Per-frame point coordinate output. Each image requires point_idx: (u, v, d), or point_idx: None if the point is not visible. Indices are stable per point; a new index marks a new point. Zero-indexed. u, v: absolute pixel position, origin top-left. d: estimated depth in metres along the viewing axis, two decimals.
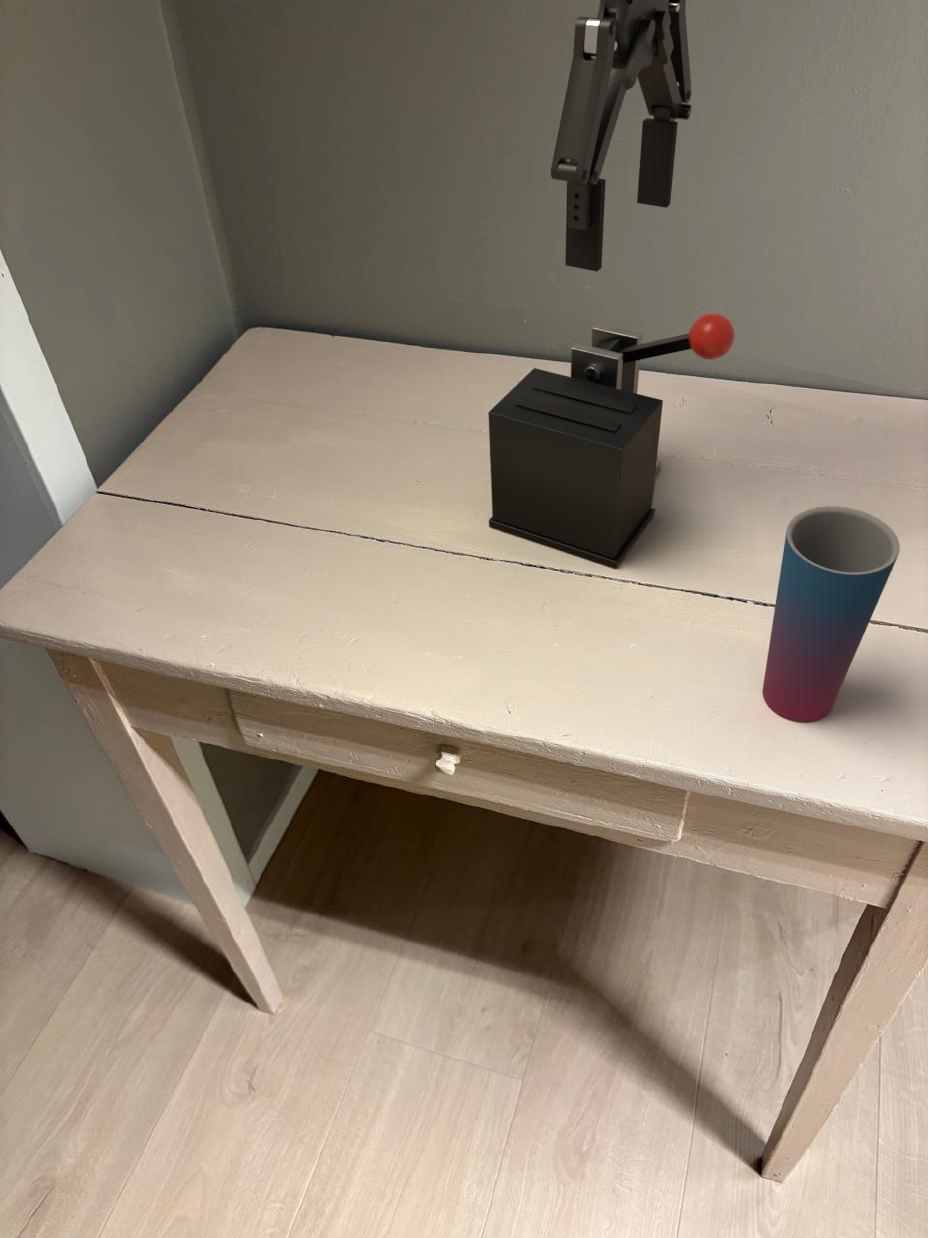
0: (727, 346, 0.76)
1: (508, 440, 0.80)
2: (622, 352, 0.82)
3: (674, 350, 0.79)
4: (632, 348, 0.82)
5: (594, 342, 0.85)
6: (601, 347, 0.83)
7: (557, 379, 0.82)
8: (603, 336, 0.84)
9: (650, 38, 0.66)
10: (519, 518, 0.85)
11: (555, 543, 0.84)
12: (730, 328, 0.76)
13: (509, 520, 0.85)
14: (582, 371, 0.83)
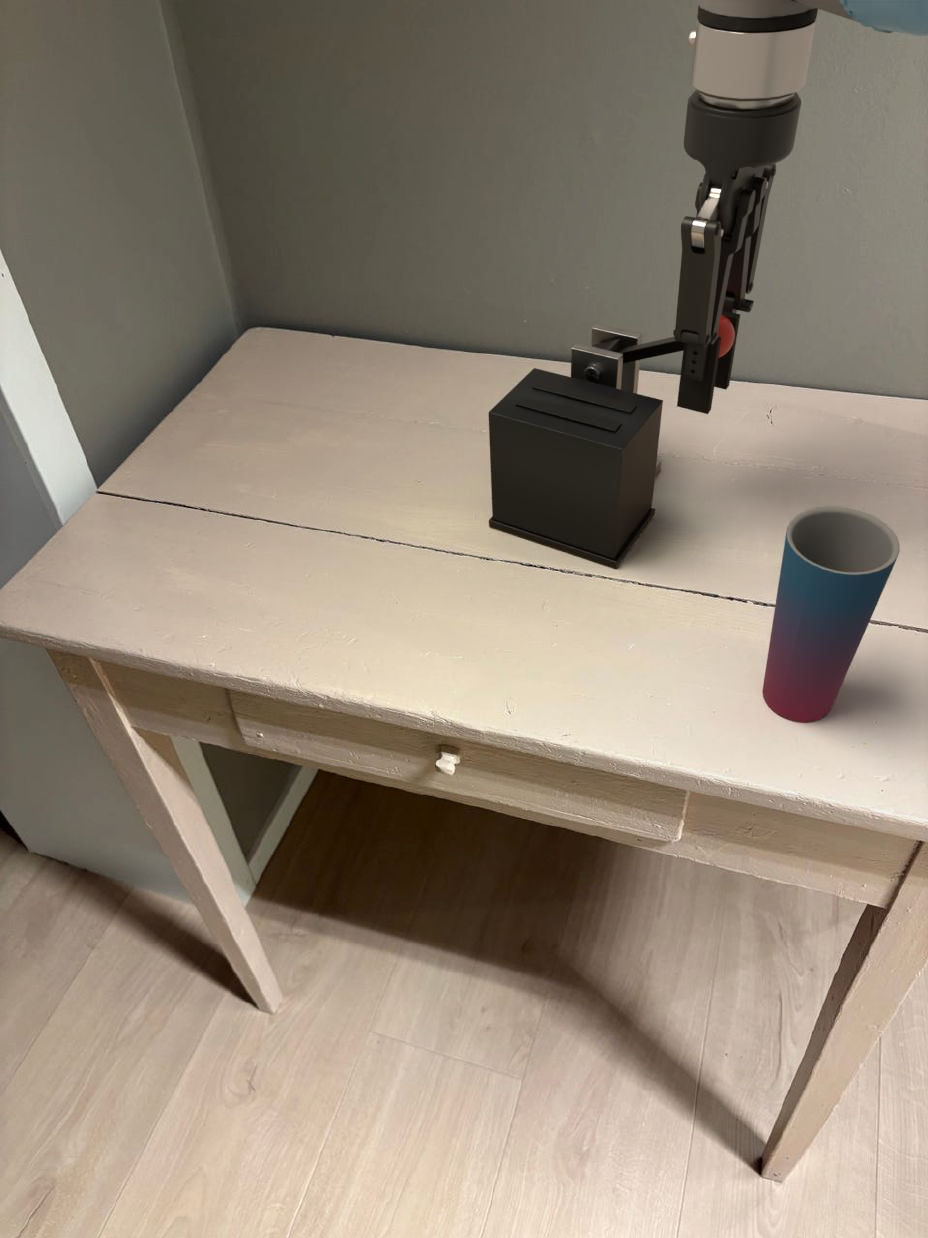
0: (727, 346, 0.76)
1: (508, 440, 0.80)
2: (622, 352, 0.82)
3: (674, 350, 0.79)
4: (632, 348, 0.82)
5: (594, 342, 0.85)
6: (601, 347, 0.83)
7: (557, 379, 0.82)
8: (603, 336, 0.84)
9: (750, 206, 0.68)
10: (519, 518, 0.85)
11: (555, 543, 0.84)
12: (730, 328, 0.76)
13: (509, 520, 0.85)
14: (582, 371, 0.83)
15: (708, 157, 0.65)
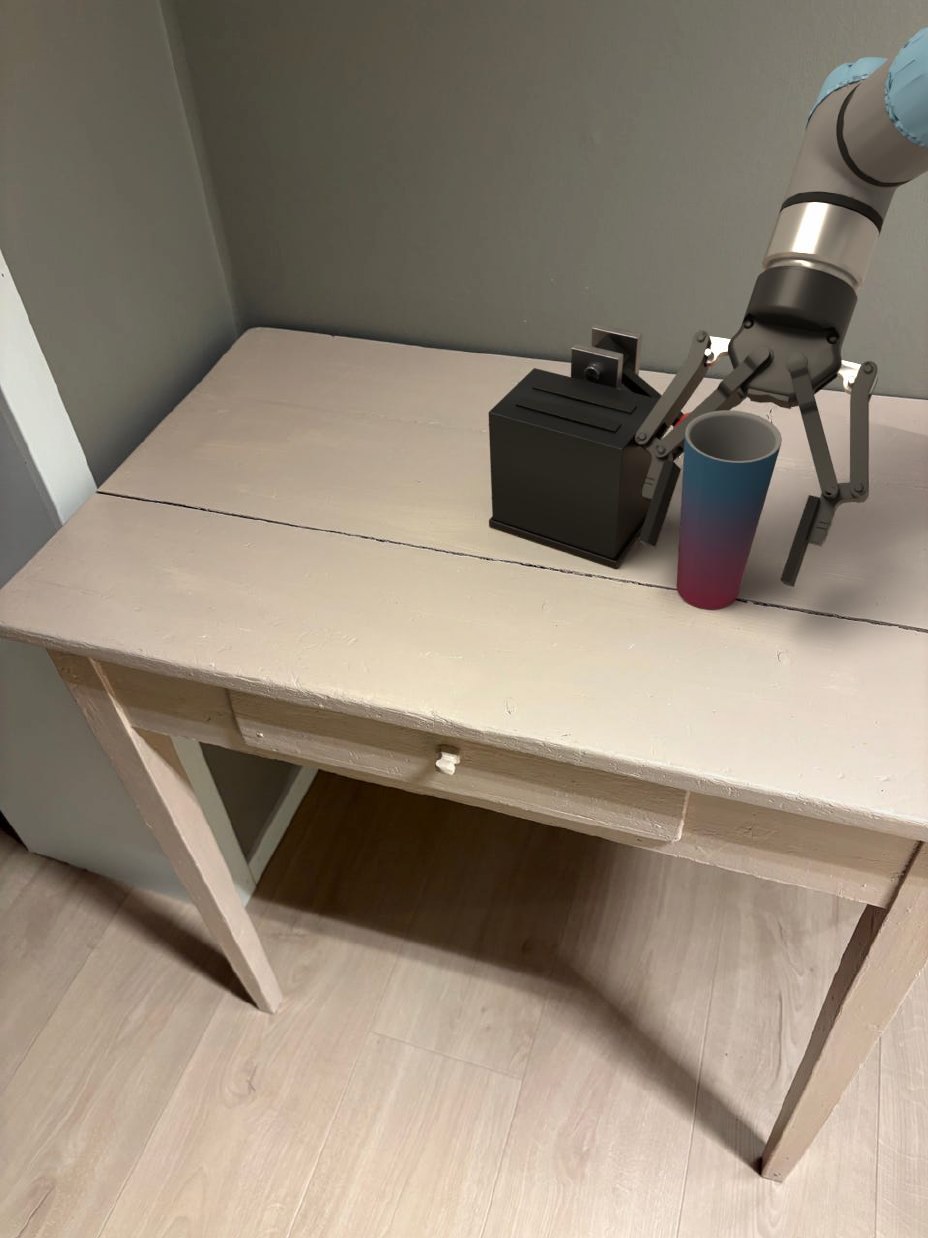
0: None
1: (508, 440, 0.80)
2: (624, 373, 0.83)
3: None
4: (633, 377, 0.83)
5: (594, 342, 0.85)
6: (613, 351, 0.83)
7: (557, 379, 0.82)
8: (603, 336, 0.84)
9: (757, 359, 0.71)
10: (519, 518, 0.85)
11: (555, 543, 0.84)
12: None
13: (509, 520, 0.85)
14: (582, 371, 0.83)
15: None
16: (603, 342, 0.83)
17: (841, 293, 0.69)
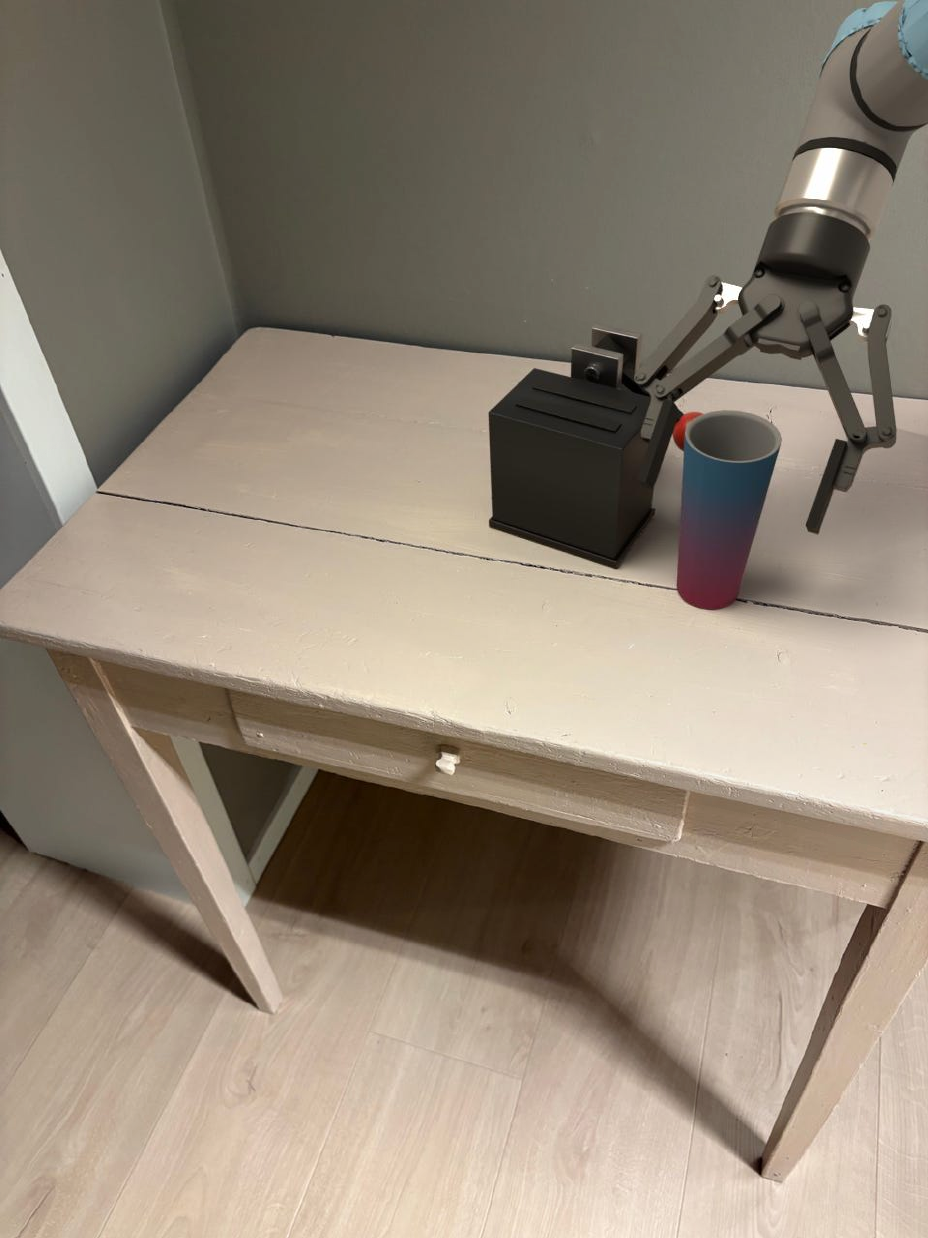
0: None
1: (508, 440, 0.80)
2: (624, 373, 0.83)
3: None
4: (633, 377, 0.83)
5: (594, 342, 0.85)
6: (613, 351, 0.83)
7: (557, 379, 0.82)
8: (603, 336, 0.84)
9: (768, 308, 0.70)
10: (519, 518, 0.85)
11: (555, 543, 0.84)
12: None
13: (509, 520, 0.85)
14: (582, 371, 0.83)
15: None
16: (603, 342, 0.83)
17: (854, 240, 0.68)
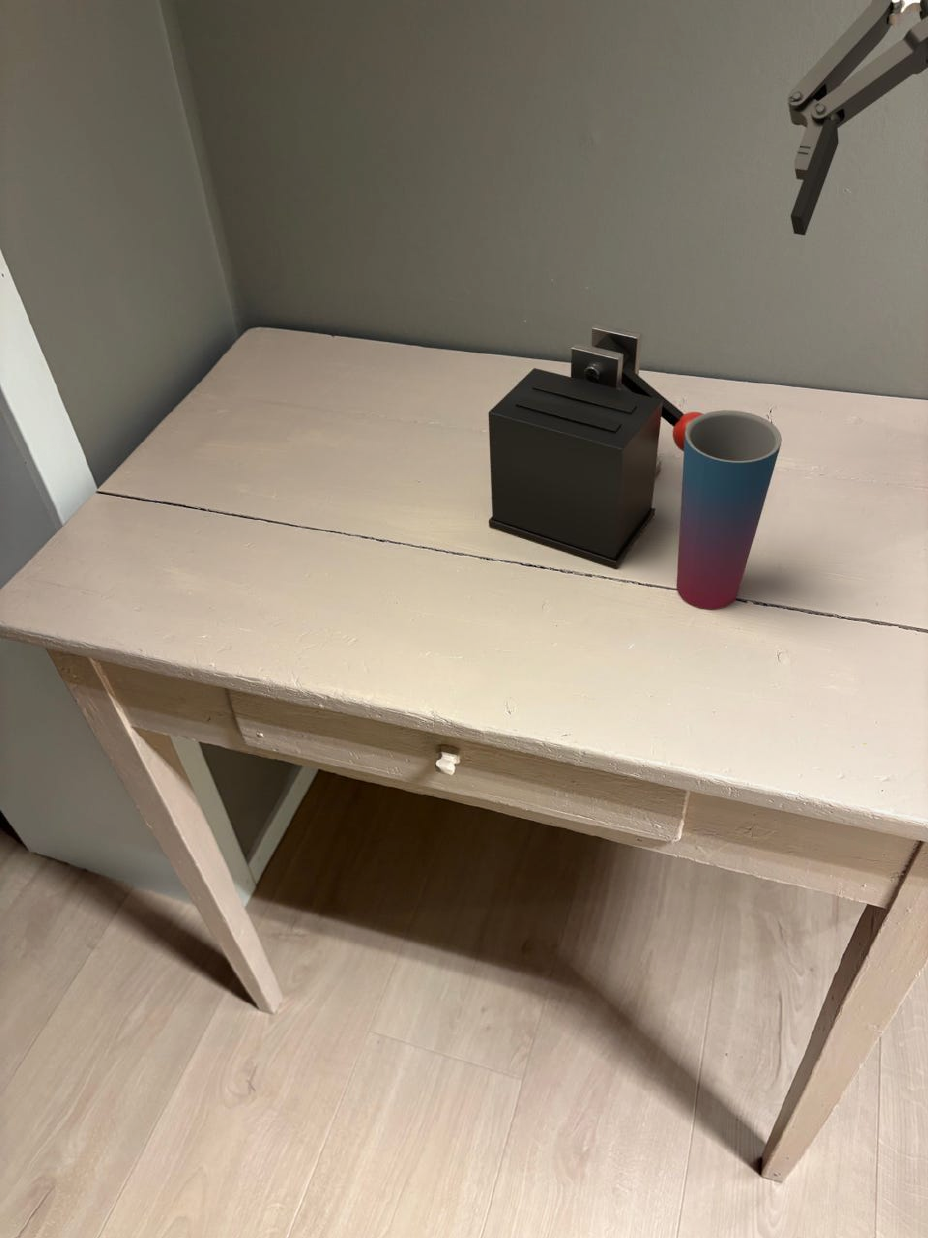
0: None
1: (508, 440, 0.80)
2: (624, 373, 0.83)
3: None
4: (633, 377, 0.83)
5: (594, 342, 0.85)
6: (613, 351, 0.83)
7: (557, 379, 0.82)
8: (603, 336, 0.84)
9: None
10: (519, 518, 0.85)
11: (555, 543, 0.84)
12: None
13: (509, 520, 0.85)
14: (582, 371, 0.83)
15: None
16: (603, 342, 0.83)
17: None
